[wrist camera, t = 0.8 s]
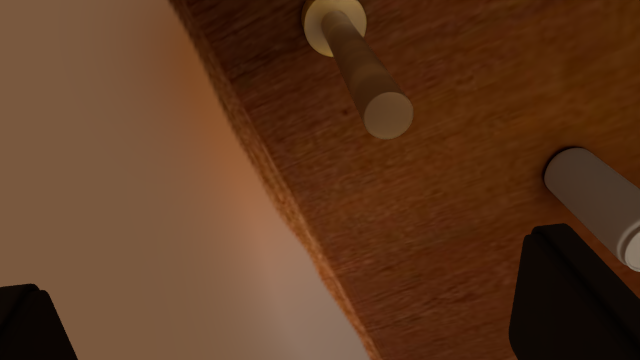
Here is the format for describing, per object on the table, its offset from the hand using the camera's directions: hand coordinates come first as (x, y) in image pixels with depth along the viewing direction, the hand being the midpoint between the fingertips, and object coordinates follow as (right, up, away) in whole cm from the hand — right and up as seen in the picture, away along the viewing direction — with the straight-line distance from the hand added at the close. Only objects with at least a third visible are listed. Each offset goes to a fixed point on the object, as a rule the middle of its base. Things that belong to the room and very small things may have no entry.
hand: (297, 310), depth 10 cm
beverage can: (+23, +4, +36) cm, 43 cm away
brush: (+1, +15, +27) cm, 31 cm away
